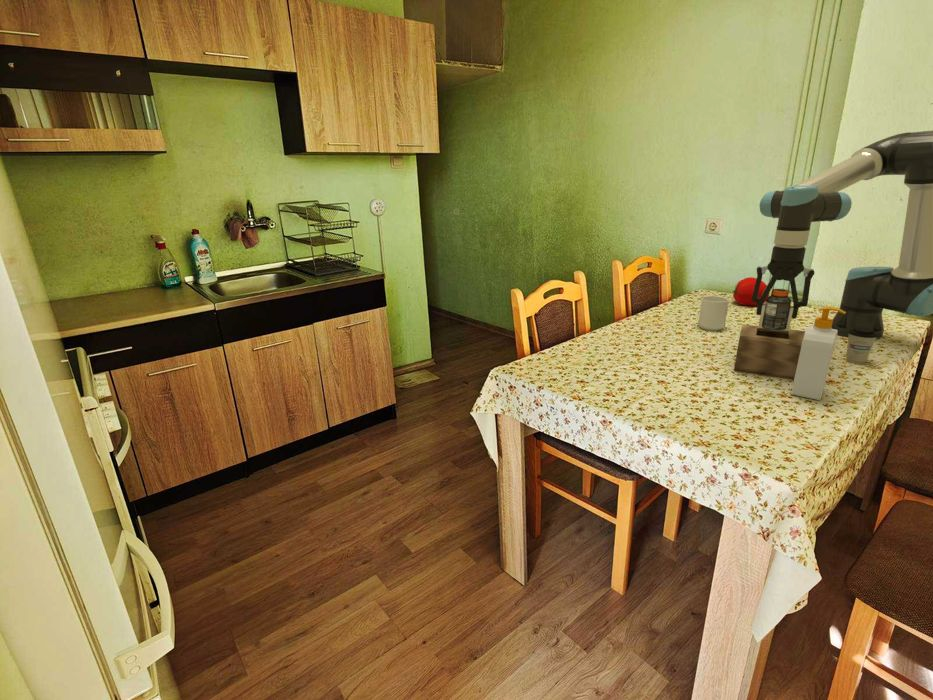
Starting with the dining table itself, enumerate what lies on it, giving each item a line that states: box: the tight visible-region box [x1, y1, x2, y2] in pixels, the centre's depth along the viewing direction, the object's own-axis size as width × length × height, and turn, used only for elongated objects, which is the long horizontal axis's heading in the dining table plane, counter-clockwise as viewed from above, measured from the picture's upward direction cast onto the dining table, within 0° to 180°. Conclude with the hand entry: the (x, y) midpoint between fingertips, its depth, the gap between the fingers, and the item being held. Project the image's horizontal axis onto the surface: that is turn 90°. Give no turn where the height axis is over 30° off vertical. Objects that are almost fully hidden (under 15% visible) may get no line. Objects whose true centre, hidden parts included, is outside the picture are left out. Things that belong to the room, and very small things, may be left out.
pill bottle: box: [762, 288, 792, 331], centre depth 137 cm, size 6×6×11 cm
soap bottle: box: [791, 306, 846, 401], centre depth 123 cm, size 9×7×23 cm
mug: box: [697, 295, 730, 332], centre depth 179 cm, size 12×9×11 cm
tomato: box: [732, 276, 771, 307], centre depth 207 cm, size 13×13×13 cm
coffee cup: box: [845, 327, 878, 364], centre depth 144 cm, size 7×7×10 cm
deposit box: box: [733, 324, 806, 380], centre depth 141 cm, size 16×12×11 cm
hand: (773, 327), depth 138 cm, fingers closed on pill bottle, 6 cm apart
